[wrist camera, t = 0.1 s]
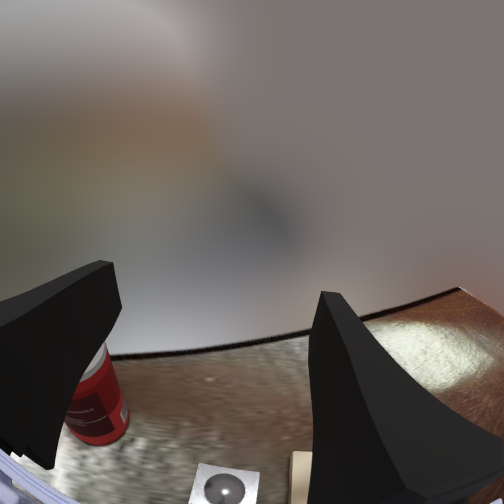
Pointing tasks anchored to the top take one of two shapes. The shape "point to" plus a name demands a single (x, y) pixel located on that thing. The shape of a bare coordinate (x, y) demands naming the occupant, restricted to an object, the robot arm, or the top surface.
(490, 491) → the top surface
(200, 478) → the housing
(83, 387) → the canned food
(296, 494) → the stand
